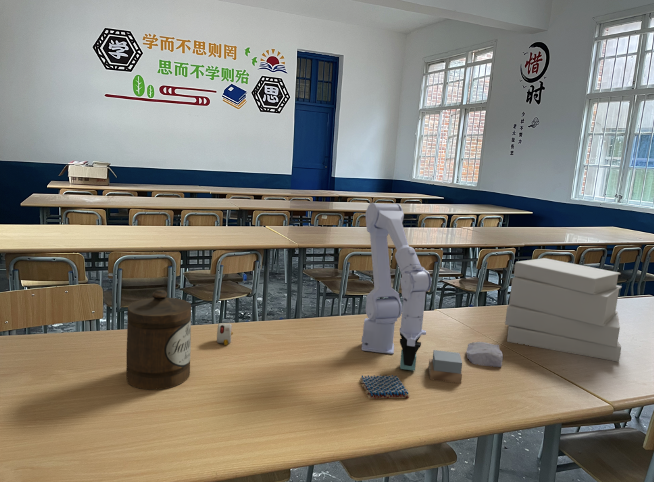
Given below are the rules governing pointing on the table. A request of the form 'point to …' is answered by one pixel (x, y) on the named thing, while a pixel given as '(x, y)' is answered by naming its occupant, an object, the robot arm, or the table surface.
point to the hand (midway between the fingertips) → (407, 361)
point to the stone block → (484, 354)
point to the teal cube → (406, 365)
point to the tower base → (443, 375)
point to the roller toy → (224, 333)
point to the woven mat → (384, 387)
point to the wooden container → (158, 342)
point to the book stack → (564, 308)
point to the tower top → (447, 361)
